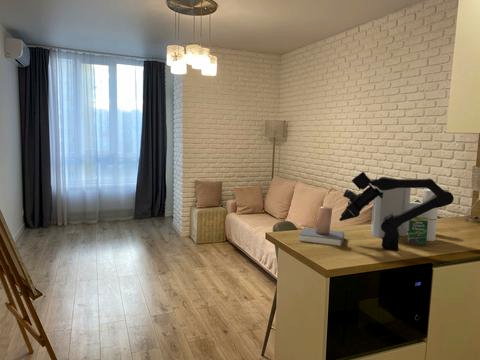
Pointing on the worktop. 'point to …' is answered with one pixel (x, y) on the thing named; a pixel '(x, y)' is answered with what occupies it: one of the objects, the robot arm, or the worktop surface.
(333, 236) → the book
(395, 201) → the tall white carton
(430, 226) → the cylindrical container
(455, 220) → the worktop surface
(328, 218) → the pink cylinder
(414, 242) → the coffee box
